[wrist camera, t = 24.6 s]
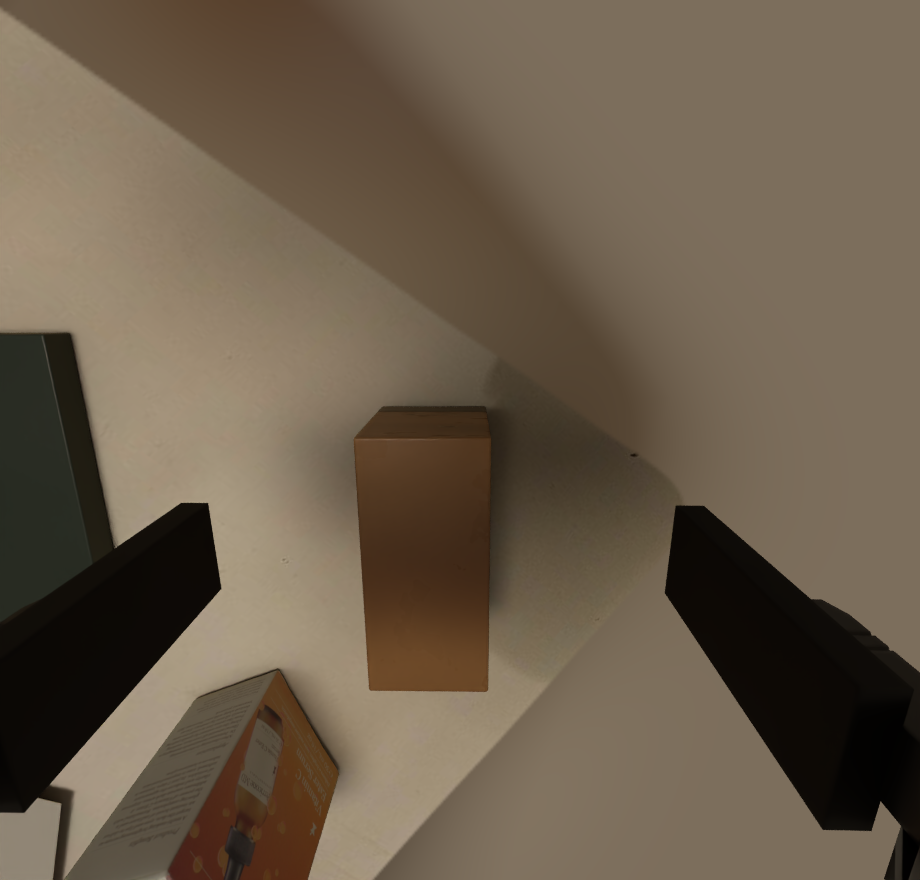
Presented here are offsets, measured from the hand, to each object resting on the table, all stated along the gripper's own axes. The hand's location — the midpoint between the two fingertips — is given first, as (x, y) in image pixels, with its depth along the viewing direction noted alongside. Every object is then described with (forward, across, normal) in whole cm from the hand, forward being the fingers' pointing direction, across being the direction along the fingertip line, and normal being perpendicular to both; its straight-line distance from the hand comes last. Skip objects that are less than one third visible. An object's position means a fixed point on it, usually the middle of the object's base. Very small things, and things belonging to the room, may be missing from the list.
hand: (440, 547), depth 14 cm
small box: (+10, -11, -18) cm, 23 cm away
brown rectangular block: (+10, -1, -4) cm, 11 cm away
